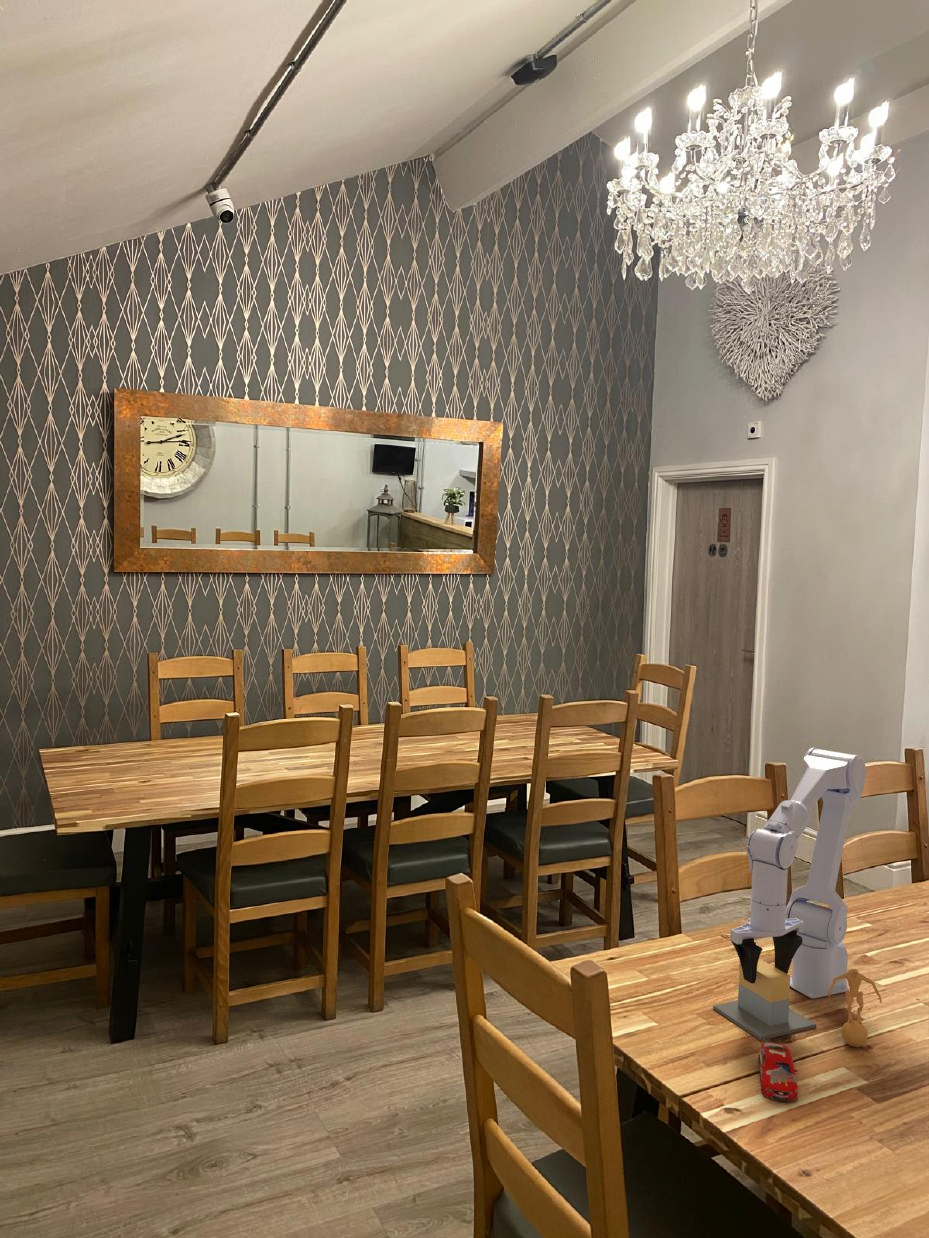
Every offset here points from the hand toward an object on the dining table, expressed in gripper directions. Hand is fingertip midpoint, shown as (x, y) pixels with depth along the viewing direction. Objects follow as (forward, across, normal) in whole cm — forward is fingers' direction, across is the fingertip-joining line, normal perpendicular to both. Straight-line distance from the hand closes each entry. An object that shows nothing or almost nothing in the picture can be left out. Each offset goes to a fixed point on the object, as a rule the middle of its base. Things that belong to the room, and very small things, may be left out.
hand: (765, 977), depth 163 cm
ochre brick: (+2, 0, 0) cm, 3 cm away
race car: (+8, +12, +16) cm, 22 cm away
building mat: (+7, 0, 0) cm, 7 cm away
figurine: (+7, -8, +12) cm, 16 cm away
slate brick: (+6, 0, 0) cm, 7 cm away
